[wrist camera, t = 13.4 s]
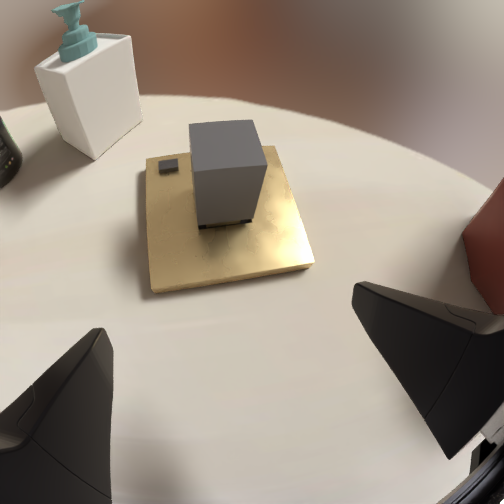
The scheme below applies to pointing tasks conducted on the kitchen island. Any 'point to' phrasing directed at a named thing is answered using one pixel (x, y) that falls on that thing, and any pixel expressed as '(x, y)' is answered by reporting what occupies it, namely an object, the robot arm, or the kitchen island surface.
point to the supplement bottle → (8, 155)
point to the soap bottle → (90, 86)
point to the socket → (219, 230)
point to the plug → (226, 171)
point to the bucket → (488, 250)
